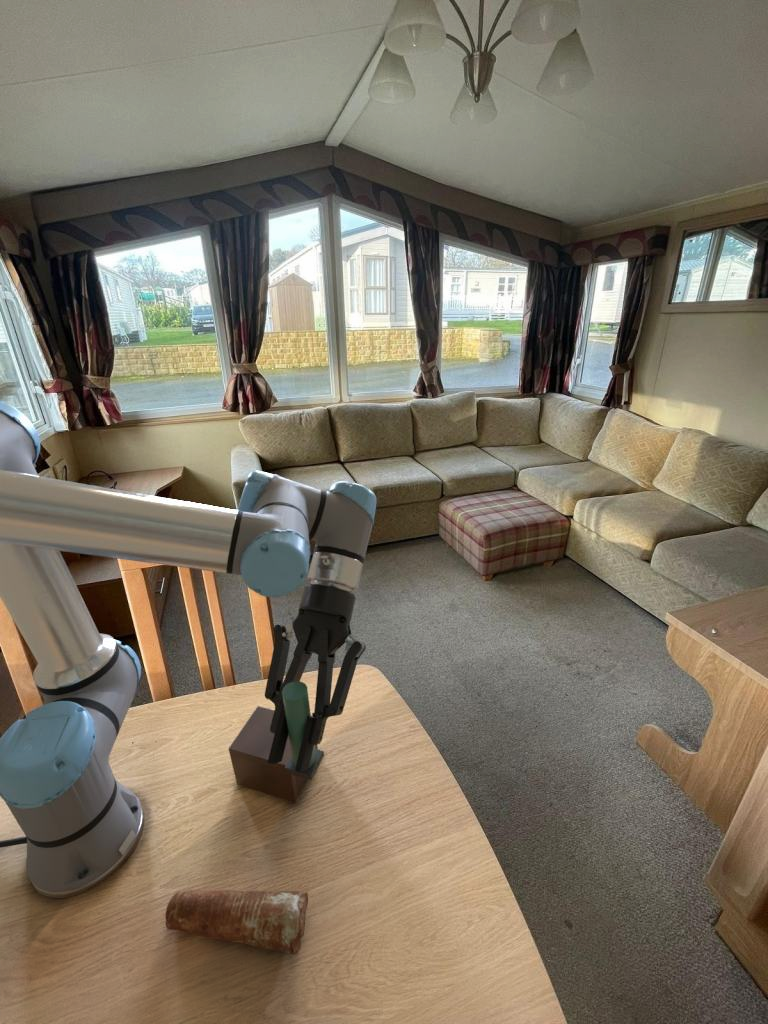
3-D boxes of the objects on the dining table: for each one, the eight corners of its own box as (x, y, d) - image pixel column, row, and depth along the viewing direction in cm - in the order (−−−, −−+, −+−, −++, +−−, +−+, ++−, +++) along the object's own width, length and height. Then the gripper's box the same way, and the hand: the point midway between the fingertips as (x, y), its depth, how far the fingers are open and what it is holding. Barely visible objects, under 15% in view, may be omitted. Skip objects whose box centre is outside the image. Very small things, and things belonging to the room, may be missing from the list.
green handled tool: (285, 772, 67) (272, 698, 60) (298, 748, 70) (288, 675, 64) (311, 780, 65) (301, 706, 59) (324, 755, 69) (315, 682, 63)
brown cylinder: (302, 965, 60) (297, 942, 57) (160, 938, 63) (150, 916, 60) (316, 906, 65) (312, 883, 63) (185, 884, 68) (177, 861, 66)
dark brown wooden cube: (237, 785, 81) (228, 748, 78) (264, 740, 89) (257, 705, 85) (295, 803, 78) (289, 766, 74) (318, 756, 86) (314, 720, 82)
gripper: (269, 573, 68) (218, 752, 61) (378, 592, 63) (336, 789, 57) (291, 584, 75) (247, 746, 68) (391, 602, 70) (355, 778, 63)
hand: (288, 765), depth 62 cm, fingers closed on green handled tool, 3 cm apart
